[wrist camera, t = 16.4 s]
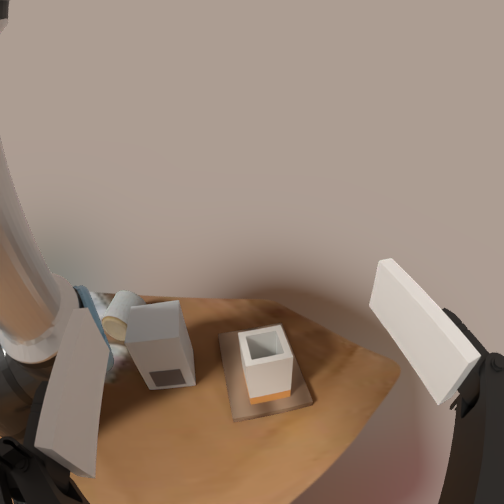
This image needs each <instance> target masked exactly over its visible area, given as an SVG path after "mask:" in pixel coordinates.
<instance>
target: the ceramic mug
mask: <svg viewBox="0 0 504 504" xmlns="http://www.w3.org/2000/svg"><path fill="white" fill-rule="evenodd" d="M140 305H146V303H145V301H144V300H143V299H142V298H141V297H140V296H138V295H137V294H135V293H133V292H131V291H127V290H121V291H119V292H117V293H116V295H115V297H114V299H113V300H112V302H111V304H110V305H109V307H108V309H107V311H106V312H105V314H104V317H103V320H102V325H103V328H104V329H105V331H106V332H107V333H108V334H109V335H110V336H111V337H113V338H115V339H117V340H119V341H125V336H126V330H127V325H128V319H129V314H130V308H131V307H132V306H140Z"/></svg>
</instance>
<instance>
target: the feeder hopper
mask: <svg viewBox="0 0 504 504" xmlns="http://www.w3.org/2000/svg"><path fill="white" fill-rule="evenodd" d="M125 345H126V347H127V349H128V351H129V353H130V355H131V357H132V359H133V361H134V363H135V365H136V366H137V368H138V370H139V372H140V374H141V375H142V377H143V379H144V381H145V382H146V384H147V386H148V388H149V389H150V390H156V389H167V388H177V387H186V386H194V385H196V379H195V368H194V355H193V348H192V345H191V341H190V338H189V335H188V331H187V328H186V325H185V321H184V318H183V314H182V310H181V307H180V303H179V300H176V301H169V302H162V303H155V304H147V305H140V306H132V307H131V308H130V314H129V319H128V325H127V330H126V336H125Z"/></svg>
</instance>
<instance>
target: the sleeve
mask: <svg viewBox="0 0 504 504" xmlns="http://www.w3.org/2000/svg"><path fill="white" fill-rule="evenodd" d="M238 337H239V345H240V352H241V359H242V366H243V373H244V378H245V382H246V386H247V391H248V395H249V399H250V403H251V405H252V404H258V403H263V402H267V401H272V400H277V399H281V398H286V397H290V393H291V380H292V367H293V355H292V352H291V350H290V347H289V345H288V342H287V340H286V337H285V335H284V332H283V329H282V327H281V325H277V326H272V327H267V328H261V329H256V330H250V331H245V332H239V333H238Z"/></svg>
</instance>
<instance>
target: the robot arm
mask: <svg viewBox="0 0 504 504" xmlns="http://www.w3.org/2000/svg"><path fill="white" fill-rule="evenodd" d="M8 5H9V0H0V33H1V32H2V31H3V29H4V28H5V27H6V25H7V23H8ZM369 307H370V308H371V309H372V310H373V312H374V313H375V315H376V316H377V317H378V319H379V320H380V321H381V323H382V324H383V326H384V327H385V328H386V329H387V331H388V332H389V334H390V335H391V337H392V338H393V339H394V341H395V342H396V344H397V345H398V347H399V348H400V350H401V351H402V352H403V354H404V355H405V357H406V358H407V360H408V361H409V362H410V364H411V365H412V367H413V368H414V370H415V371H416V373H417V374H418V376H419V377H420V379H421V380H422V382H423V383H424V385H425V386H426V388H427V389H428V391H429V393H430V394H431V396H432V397H433V399H434V400H435V402H436V404H437V405H440V404H442V403H443V402H445V401H447V400H448V399H450V398H451V397H452V396H453V394H454V393H455V392H456V391H457V390H458V392H459V393H460V395H459V396H458V397H457V398H456V399H455V401H454V402H453V403H452V404H451V406H450V409H451V410H452V409H453V407H454V406H455V405H456V404H457V407H456V408H455V410H456V419H455V427H454V434H453V440H452V446H451V452H450V457H449V463H448V467H447V472H446V476H445V481H444V485H443V488H442V492H441V496H440V499H439V503H438V504H504V356H502V355H501V354H498V353H489V352H487V351H486V349H485V348H484V347H483V346H482V344H481V343H480V342H479V341H478V340H477V338H476V337H475V336H474V335H473V334H472V333H471V332H470V330H468V329H467V327H466V326H465V325H464V324H462V321H461V320H460V319H459V318H458V317H457V316H456V315H455V314H454V313H452V312H451V311H449V310H448V309H446V308H444V309H441V308H440V307H439V306H438V305H437V304H436V303H435V302H434V301H433V300H432V299H431V298H430V297H429V295H427V293H425V291H424V290H423V289H422V288H421V287H420V286H419V285H418V284H417V283H416V282H415V281H414V280H413V279H412V278H411V277H410V276H409V275H408V274H407V273H406V272H405V271H404V270H403V269H402V268H401V267H400V266H399V265H398V264H397V263H396V262H395V261H394V260H393V259H392V258H390V259H385V260H380V261H379V262H378V267H377V272H376V277H375V281H374V286H373V290H372V295H371V299H370V303H369ZM113 364H114V358H113V354H112V351H111V348H110V345H109V343H108V340H107V338H106V335H105V334H104V330H103V327H102V324H101V321H100V319H99V316H98V313H97V311H96V308H95V305H94V303H93V300H92V298H91V295H90V293H89V291H88V289H87V288H86V287H85V286H75V287H72V286H71V284H70V283H69V282H68V281H67V280H66V279H65V278H63V277H61V276H59V275H57V274H53V273H51V272H50V270H49V268H48V266H47V264H46V262H45V260H44V258H43V256H42V254H41V252H40V250H39V247H38V245H37V243H36V241H35V239H34V236H33V234H32V232H31V229H30V227H29V225H28V222H27V220H26V217H25V215H24V212H23V210H22V207H21V204H20V201H19V199H18V196H17V193H16V190H15V187H14V184H13V181H12V178H11V175H10V172H9V168H8V165H7V161H6V158H5V154H4V150H3V147H2V142H1V138H0V436H1V437H2V438H1V439H0V504H13V503H12V499H13V501H14V504H90V503H89V502H88V501H87V499H86V498H85V497H84V495H83V494H82V493H81V491H80V490H79V488H78V487H77V485H76V484H75V482H74V481H73V480H72V479H71V478H70V471H71V472H72V473H74V474H76V475H77V476H81V477H88V478H95V470H96V452H97V438H98V428H99V418H100V409H101V402H102V394H103V387H104V381H105V375H106V372H108V371H109V370H110V369H111V368H112V367H113ZM11 498H12V499H11Z"/></svg>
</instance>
